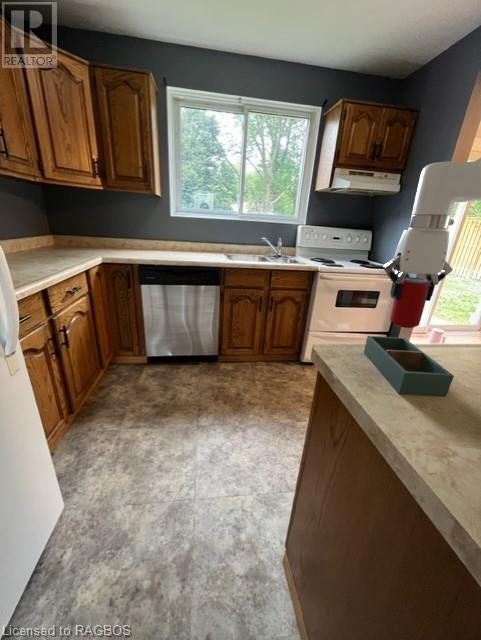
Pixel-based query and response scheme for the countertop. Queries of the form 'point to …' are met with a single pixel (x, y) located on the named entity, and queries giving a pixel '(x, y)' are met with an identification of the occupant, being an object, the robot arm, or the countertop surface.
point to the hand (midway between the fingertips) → (409, 298)
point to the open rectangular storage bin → (407, 367)
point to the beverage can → (410, 303)
